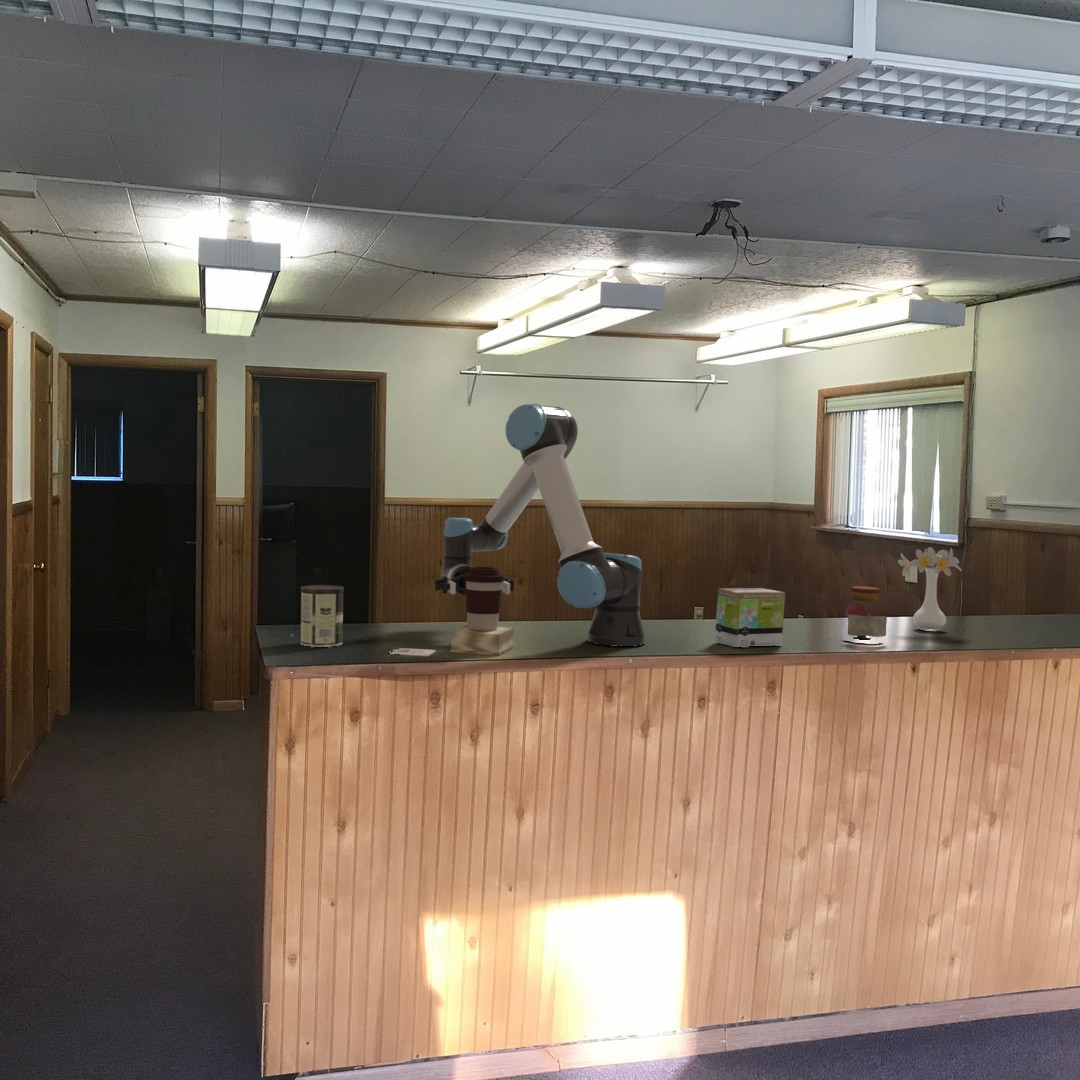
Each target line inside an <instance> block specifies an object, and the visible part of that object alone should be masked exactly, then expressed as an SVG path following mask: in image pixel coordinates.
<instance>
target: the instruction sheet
mask: <svg viewBox="0 0 1080 1080" xmlns="http://www.w3.org/2000/svg"><path fill="white" fill-rule="evenodd" d="M398 648H399V650H398V649H396V650H395V649H394V648H393V649H394V650H393V649H392V650H393V652H392V653H391V652H390V651H388V652H389V653H390V654H389V655H394V654H400V655H401V656H412V657H413V656H415V657H430V656H431V655H433V654H434V653H435V652H436V651H437V650H436V649H426V648H425V649H424V648H423V649H422V648H409V647H408V648H406V647H405V648H404V647H398ZM394 651H395V652H394ZM400 655H399V656H400Z"/></svg>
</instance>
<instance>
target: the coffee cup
mask: <svg viewBox="0 0 1080 1080" xmlns="http://www.w3.org/2000/svg"><path fill="white" fill-rule="evenodd" d="M505 578H506V577H505V574H503V573H501V572H500V569H499V568H498V567H492V566H471V568H470V570H469V573H465V574H464V580H465V581H466V595H465V609H466V610H465V612H466V615H467V619H466V621H467V625H468V628H469V629H471V630H476V631H493V630H496V629H497V628H498V627H499V626H498V625H499V618H500V617H499V615H500V612H501V606H502V595H503V592H502V589H501V588H502V582H504V581H505Z"/></svg>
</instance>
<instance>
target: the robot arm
mask: <svg viewBox="0 0 1080 1080" xmlns="http://www.w3.org/2000/svg"><path fill="white" fill-rule="evenodd" d="M578 429H579V428H578V424H577V422H576V419H575V417H574V415H572V413H571V412H569V411H568V410H567V409H565V408H563V407H560V406H551V405H550V406H549V405H543V404H542V405H540V404H538V403H529V404H527V403H526V404H521V405H519V406H517V407H516V408H515V409H513V411H511V413H510V414H509V416H508V418H507V421H506V423H505V437H506V439H507V442H508V443H509V445H510V446H511V447H513V448H514V449H515V450H517V451H519V452H520V455H521V458H522V461H523V462H522V464H521V465H520V467H519V469H518V470H517V472H516V473H515V475H514V476H513V477H512V479H511V480H510V481H509V483H508V484H507V486H506V487H505V488H504V490H503V491H502V493H501V494H500V495H499V497H498V499H497V500H496V502H495V503H494V504H493V505H492V507H491V508H490V510H489V511H488V512H487V514H486V516H485V517H483V519H482V521H481V522H480V523H478V524H473V519H471V518H469V517H449V518H446V520H445V523H444V524H445V525H444V531H443V536H444V537H443V538H444V539H443V540H444V541H443V565H442V567H441V569H440V578H437V579H435V580H434V591H440V590H441V591H442V592H441V594H447V592H448V593H449V594H451V595H456V593H458V594H459V595H461V596H466V581H465V580H464V574H465V573H469V570H470V568H471V567H472V555H473V553H474V552H493V551H497V550H498V551H499V550H502V549H503V548H504V547H506V545H507V543H508V539H509V533H508V531H509V530H510V529H511V527H512V526H513V524H514V523H515V522H516V521H517V519H518V518H519V516H520V515H521V514H522V513H523V511H524V509H525V508H526V507H527V505H529V503H530V502H531V500H532V499H533V498H534V496H535V495H536V493H537V492H538V491H540V494H541V498H542V501H543V503H544V506H545V509H546V512H547V515H548V518H549V521H550V524H551V527H552V530H553V533H554V535H555V539H556V541H557V545H558V548H559V550H560V554H561V555H560V557H559V559H558V562H557V563H558V565H559V566H558V567H559V568H560V569H559V571H558V576H557V578H556V585H557V586H556V587H557V590H558V593H559V594H560V596H561V597H562V599H563V600H564V601H565V602H566V603H567V604H569V605H570V606H572V607H575V608H579V609H580V608H581V609H582V608H583V609H593V608H594V614H593V615H592V616H593V617H592V620H591V622H590V624H589V628H588V631H587V634H586V635H587V637H586V641H587V640H588V641H589V642H592V643H597V644H603V645H617V646H621V645H622V646H634V645H640V644H644V643H645V644H646V639H647V638H646V632H645V629H644V624H643V621H642V619H641V618H642V617H641V615H640V613H641V612H640V611H641V596H642V595H641V590H642V574H643V570H642V559H641V558H640V557H638V556H636V555H630V554H621V553H611V552H604V549H603V547H602V546H601V545H599V544H597V543H595V541H594V538H593V537H592V533H591V530H590V527H589V525H588V522H587V519H586V516H585V513H584V510H583V507H582V505H581V502H580V499H579V496H578V494H577V490H576V488H575V484H574V482H573V480H572V479H573V478H572V476H571V474H570V471H569V468H568V465H567V462H566V459H567V458H568V457H569V455H570V453H571V452H572V450H573V449H574V446H575V445H576V441H577V439H578V434H579V433H578V431H579V430H578ZM501 589H502V594H505V595H510V594H511V592H513V591H515V590H514V589H515V580H512V579H509V578H507V577H505V581H504V582H502V588H501ZM589 642H588V643H589ZM592 643H591V644H592ZM645 644H644V645H645ZM603 645H602V646H603ZM634 647H635V646H634Z"/></svg>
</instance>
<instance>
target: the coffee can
mask: <svg viewBox="0 0 1080 1080" xmlns="http://www.w3.org/2000/svg"><path fill="white" fill-rule="evenodd" d="M300 591H301V592H300V593H301V595H300V596H301V597H300V600H301V601H300V644H301V645H300V646H302V645H304V646H303V647H305V646H311V647H310V648H314V647H328V648H333V647H332V646H337V647H340V646H339V645H341V646H343V645H344V642H343V637H344V636H343V635H344V634H343V633H344V630H343V629H344V627H343V626H344V625H343V623H344V622H343V621H344V591H345V587H344V586H341V585H335V584H312V585H311V584H310V585H309V584H308V585H303V586H300ZM342 644H343V645H342Z"/></svg>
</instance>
